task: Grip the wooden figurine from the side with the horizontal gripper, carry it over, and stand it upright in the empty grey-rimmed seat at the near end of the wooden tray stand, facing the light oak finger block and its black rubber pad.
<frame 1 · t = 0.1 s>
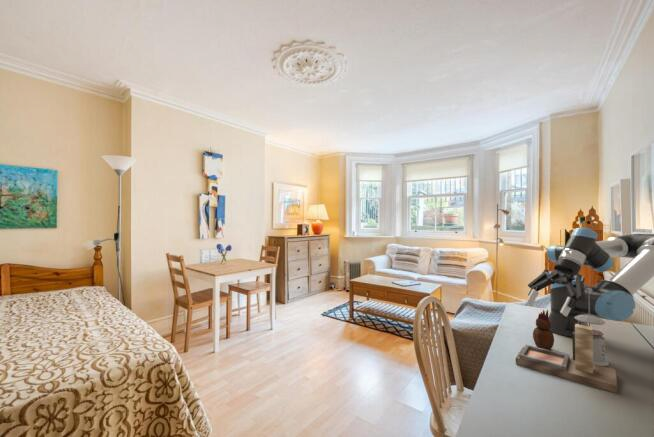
hand: (544, 309, 109), 15 cm above the table, tool tilted 35°, fingers open, 13 cm apart
wooden tray stand: (563, 369, 93), on the table
french press: (588, 358, 102), on the table
wooden figurine: (543, 348, 110), on the table
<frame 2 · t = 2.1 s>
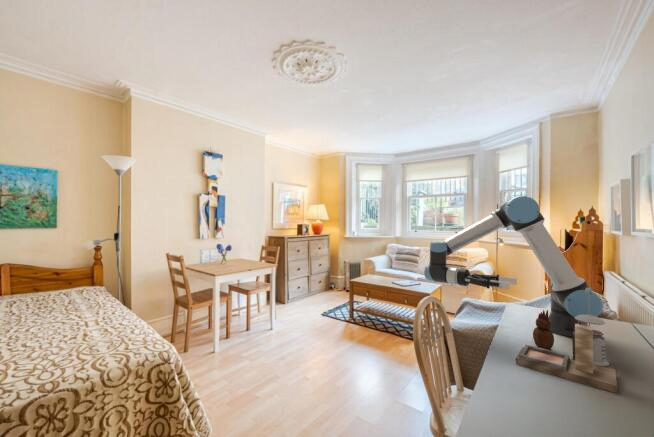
hand: (513, 283, 117), 23 cm above the table, tool horizontal, fingers open, 13 cm apart
nothing on the table moved.
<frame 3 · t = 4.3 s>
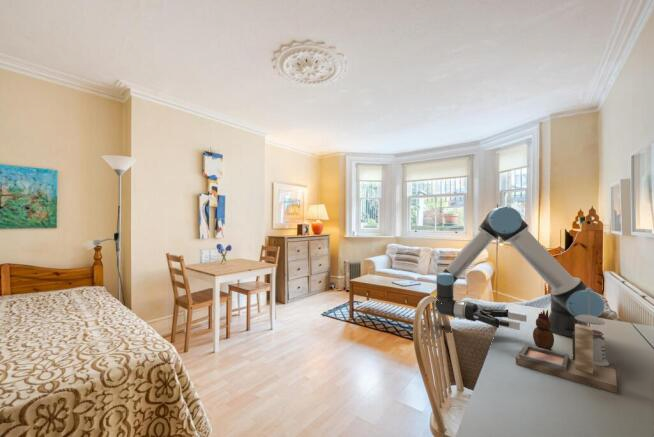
hand: (523, 322, 114), 8 cm above the table, tool horizontal, fingers open, 13 cm apart
nothing on the table moved.
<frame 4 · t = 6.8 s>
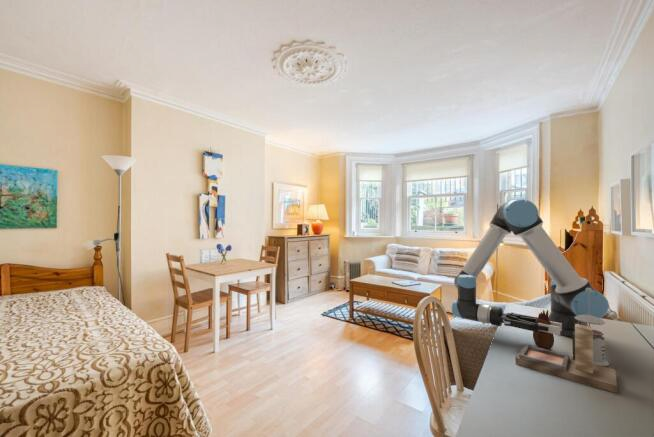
hand: (560, 329, 106), 9 cm above the table, tool horizontal, fingers closed on wooden figurine, 5 cm apart
wooden figurine: (543, 348, 110), on the table, touching gripper
everything else where it was.
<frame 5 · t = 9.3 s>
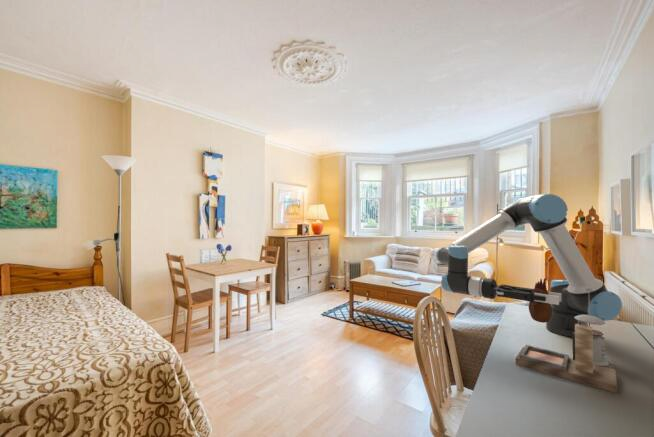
hand: (559, 299, 95), 22 cm above the table, tool horizontal, fingers closed on wooden figurine, 5 cm apart
wooden figurine: (540, 321, 98), point 14 cm above the table, touching gripper
everything else where it was.
when the fingers open (11 cm above the table, at t = 11.8 s): wooden figurine stays where it is, resting on wooden tray stand.
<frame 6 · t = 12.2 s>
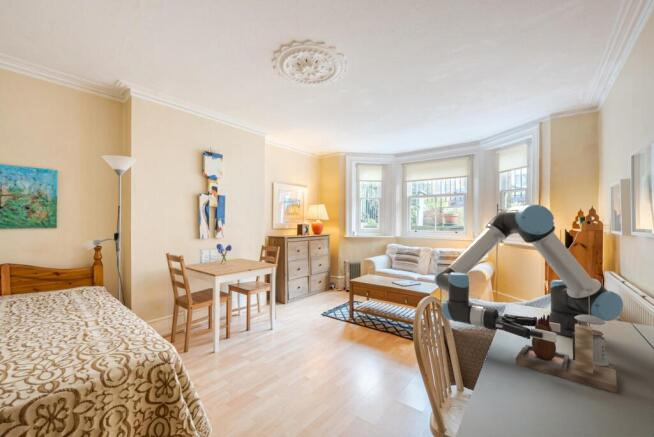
hand: (558, 332, 94), 12 cm above the table, tool horizontal, fingers open, 11 cm apart
wooden figurine: (543, 358, 96), point 2 cm above the table, touching wooden tray stand
everything else where it was.
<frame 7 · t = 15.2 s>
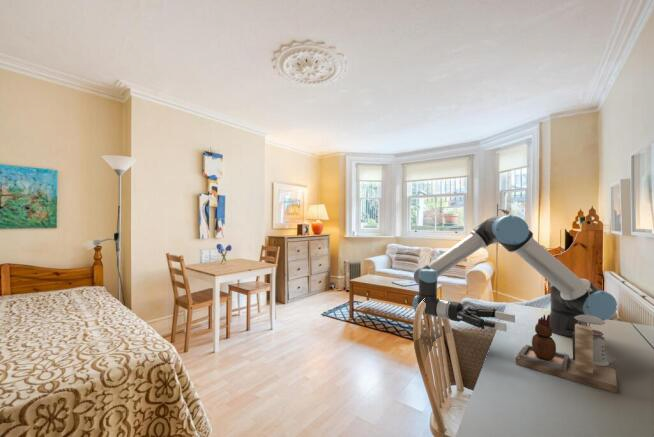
hand: (510, 322, 103), 12 cm above the table, tool horizontal, fingers open, 13 cm apart
nothing on the table moved.
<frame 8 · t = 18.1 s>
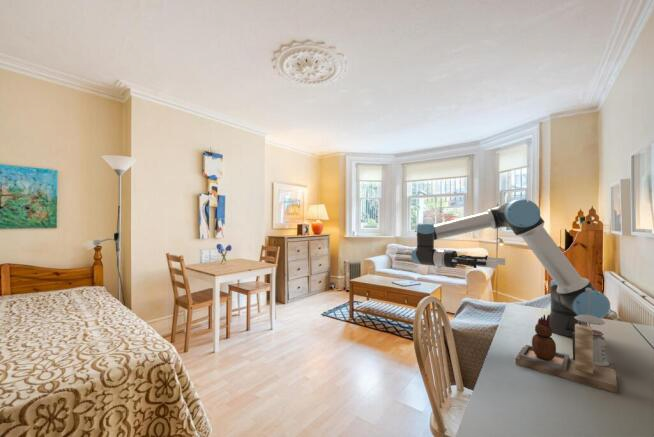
hand: (500, 263, 112), 32 cm above the table, tool horizontal, fingers open, 13 cm apart
nothing on the table moved.
at the end: wooden figurine 0.1 cm from the target spot, point 1.9 cm above the table; wooden figurine tilted 0°; the gripper is holding nothing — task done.
